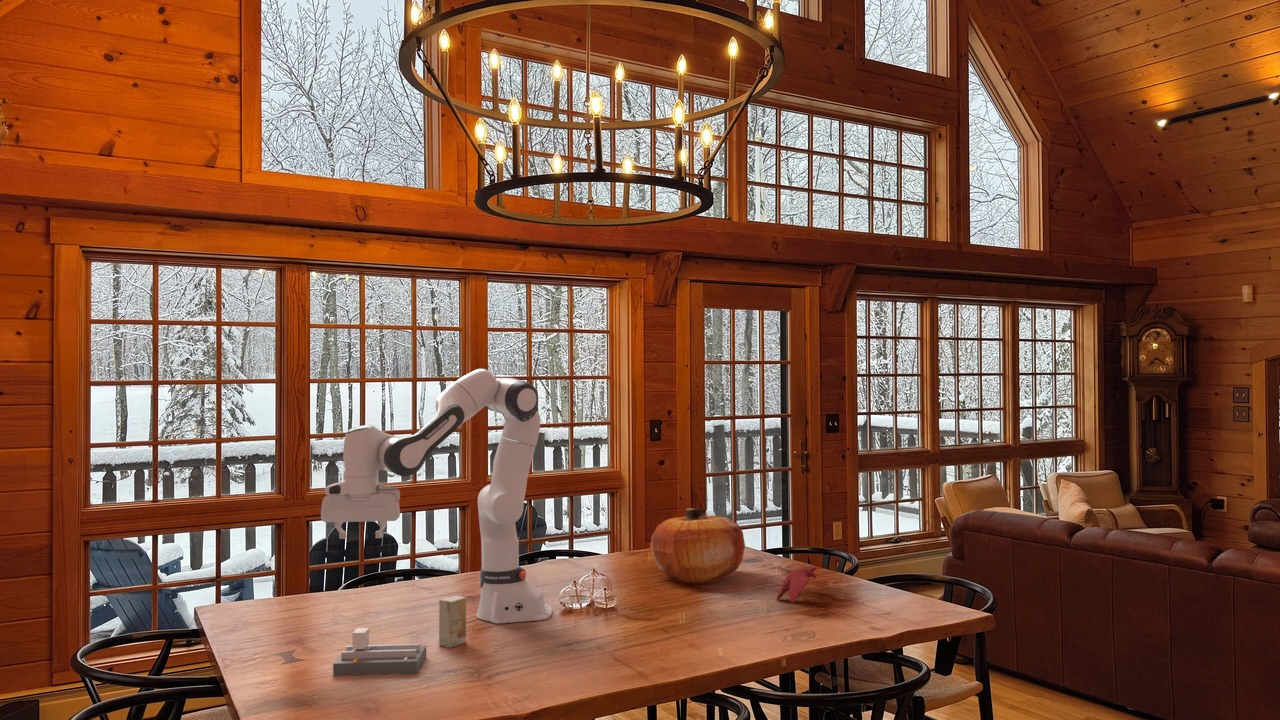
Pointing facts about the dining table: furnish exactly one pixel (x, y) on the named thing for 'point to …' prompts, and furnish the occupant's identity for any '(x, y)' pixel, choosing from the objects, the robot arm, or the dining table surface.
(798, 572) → the decorative bird sculpture
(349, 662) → the fader console
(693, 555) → the pumpkin
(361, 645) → the fader knob
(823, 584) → the dining table surface
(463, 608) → the skincare box
